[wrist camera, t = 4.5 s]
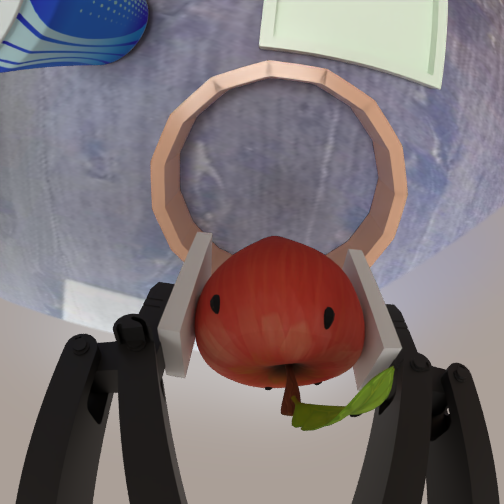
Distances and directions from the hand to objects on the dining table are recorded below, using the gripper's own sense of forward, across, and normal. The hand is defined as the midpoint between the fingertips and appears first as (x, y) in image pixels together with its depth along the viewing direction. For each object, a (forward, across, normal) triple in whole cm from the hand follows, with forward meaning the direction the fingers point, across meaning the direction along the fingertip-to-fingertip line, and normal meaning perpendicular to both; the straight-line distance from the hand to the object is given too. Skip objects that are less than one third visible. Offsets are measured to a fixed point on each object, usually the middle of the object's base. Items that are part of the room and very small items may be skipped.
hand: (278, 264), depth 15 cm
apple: (+1, 0, 0) cm, 1 cm away
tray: (+14, +5, +20) cm, 25 cm away
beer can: (+14, -17, +15) cm, 27 cm away
